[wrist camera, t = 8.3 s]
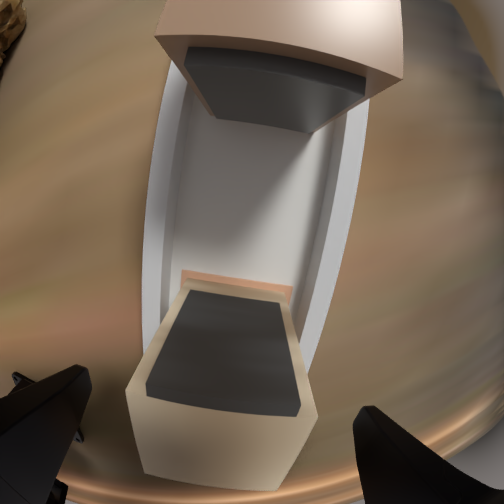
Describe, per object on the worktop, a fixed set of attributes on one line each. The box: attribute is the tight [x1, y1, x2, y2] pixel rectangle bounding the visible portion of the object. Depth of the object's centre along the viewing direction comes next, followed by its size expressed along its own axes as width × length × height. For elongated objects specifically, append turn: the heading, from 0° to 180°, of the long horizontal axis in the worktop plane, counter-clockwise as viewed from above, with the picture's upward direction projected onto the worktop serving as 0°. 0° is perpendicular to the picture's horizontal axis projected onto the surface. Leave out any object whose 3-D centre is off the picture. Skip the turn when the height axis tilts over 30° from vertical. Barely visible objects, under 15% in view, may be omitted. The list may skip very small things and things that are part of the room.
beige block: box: [125, 278, 318, 491], centre depth 9 cm, size 4×5×7 cm
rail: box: [142, 0, 403, 374], centre depth 8 cm, size 23×8×8 cm, turn 171°
